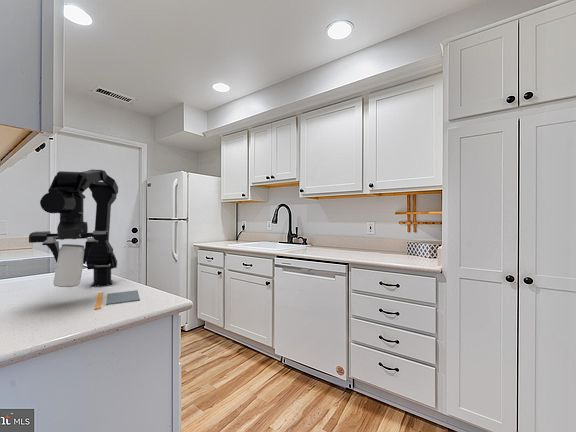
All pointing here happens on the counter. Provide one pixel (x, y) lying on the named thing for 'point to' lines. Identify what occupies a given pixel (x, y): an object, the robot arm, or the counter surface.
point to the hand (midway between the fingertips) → (71, 264)
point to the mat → (122, 297)
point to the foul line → (98, 301)
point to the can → (69, 265)
